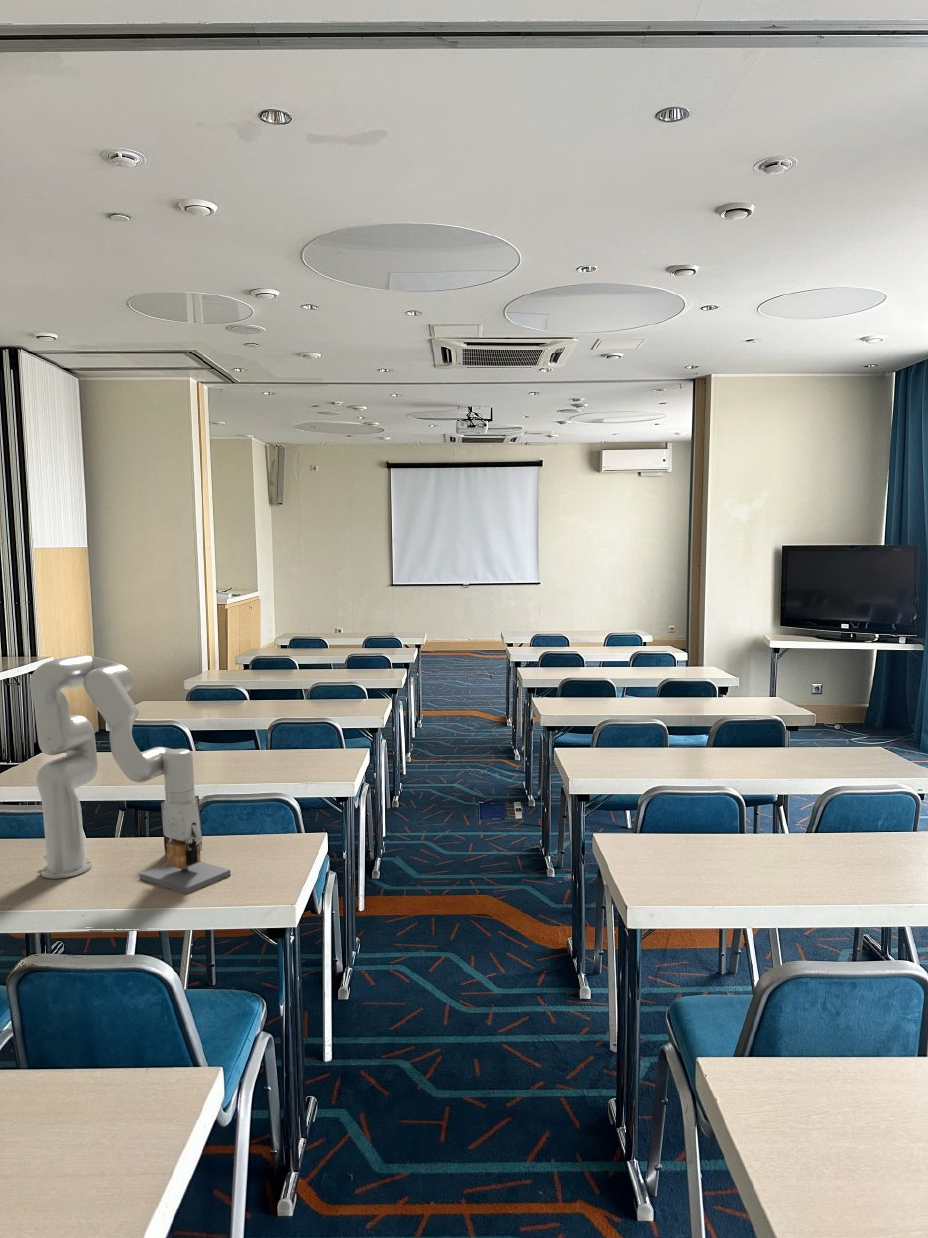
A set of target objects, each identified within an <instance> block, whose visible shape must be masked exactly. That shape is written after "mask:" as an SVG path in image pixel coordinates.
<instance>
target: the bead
mask: <svg viewBox="0 0 928 1238" xmlns="http://www.w3.org/2000/svg"><path fill="white" fill-rule="evenodd" d="M189 842H190V844H191V843H192V842H193V841H192V840H189ZM186 850H187V847H186V844H185V841H179V840H175V841H172V842H169V843H167V856H166V857H167V863H168V865H169V866H172V867H176V868H179V869H184V868H187V867H189V866H192V865H194V864H197V863H200V862H202V861H201V850H200V844H199V845H198V848H197V857H198V861H197V862H196V863H194V864H191V865H187V864H186Z"/></svg>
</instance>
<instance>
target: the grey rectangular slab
mask: <svg viewBox="0 0 928 1238" xmlns="http://www.w3.org/2000/svg"><path fill="white" fill-rule="evenodd" d="M188 869H189V871H188V872H186V873H182V871H181V869H179V868H176V867H172V866H169V865H168V862H166V863H164V864H161V865H158V866H155V867H153V868H151V869H147V870H145V871H142V872H139V877H140V878H139V879H140V880H143V881H146V882H150V883H152V884H155V885H159V886H161V885H162V887H164V886H165V888H167V887H168V889H171V890H174V891H177V892H180V893H184V894H189V893H192V892H194V890H195V891H196V890H200V889H201V887H202V888H204V887H206V886H209V885H211V884H213V882H214V883H216V882H217V880H218V881H220V879H221V880H222V879H226V878H228V877H230V876H231V875H232V874H231V870H230V869H229V868H225V867H221V866H219V865H218V866H217V865H214V864H211V863H206V862H203V861H201V862H200V863H197V864H194V865H192V866H189V867H188ZM229 875H230V876H229ZM227 876H228V877H227ZM225 877H226V878H225ZM215 881H216V882H215ZM205 885H206V886H205ZM203 886H204V887H203Z"/></svg>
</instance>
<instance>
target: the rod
mask: <svg viewBox="0 0 928 1238" xmlns="http://www.w3.org/2000/svg"><path fill="white" fill-rule="evenodd" d="M181 871H182V873H186V872H188V871H189V869H188V867H187V868H184V869H181Z"/></svg>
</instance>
